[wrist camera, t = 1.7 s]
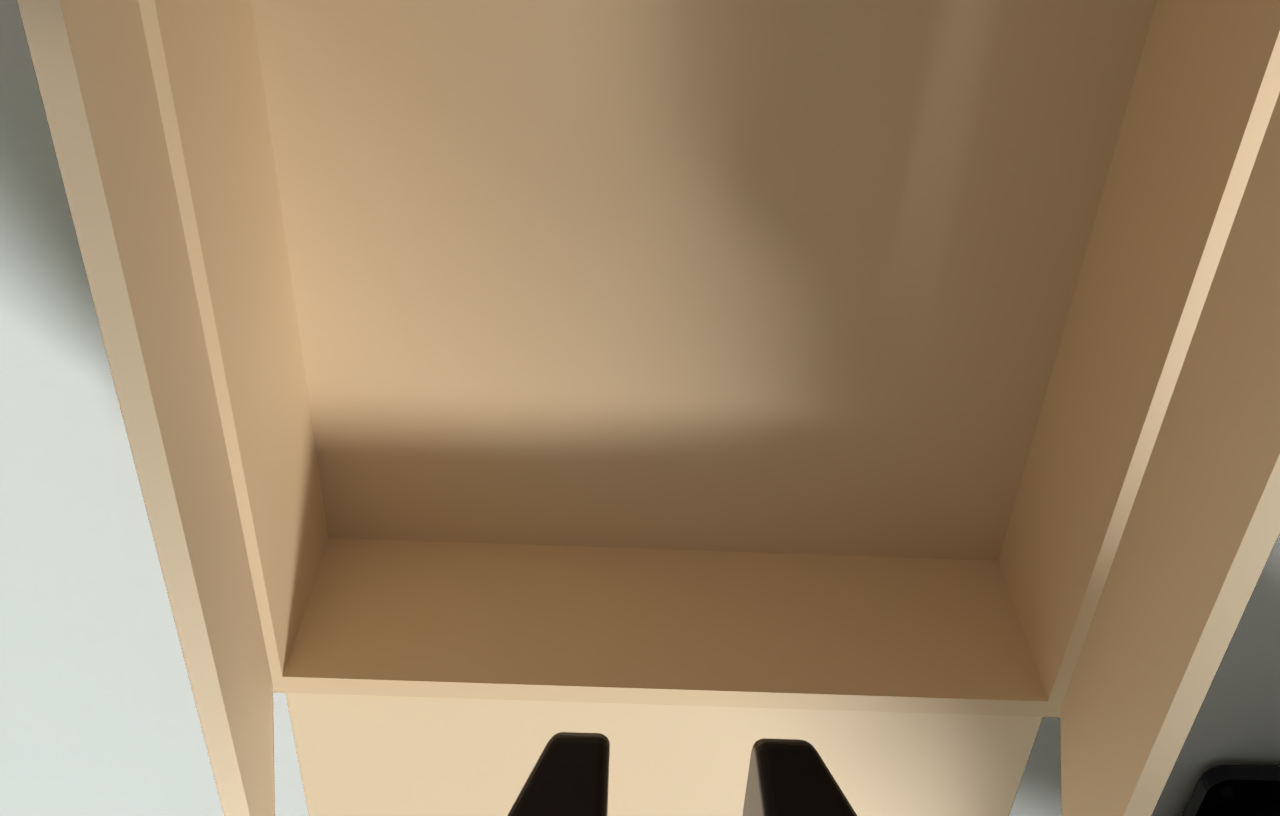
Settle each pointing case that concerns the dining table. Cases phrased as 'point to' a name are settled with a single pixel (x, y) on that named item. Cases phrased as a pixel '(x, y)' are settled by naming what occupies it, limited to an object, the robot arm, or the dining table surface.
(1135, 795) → the flap
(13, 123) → the dining table surface
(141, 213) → the flap
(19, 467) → the dining table surface
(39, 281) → the dining table surface
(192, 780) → the dining table surface
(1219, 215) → the carton
